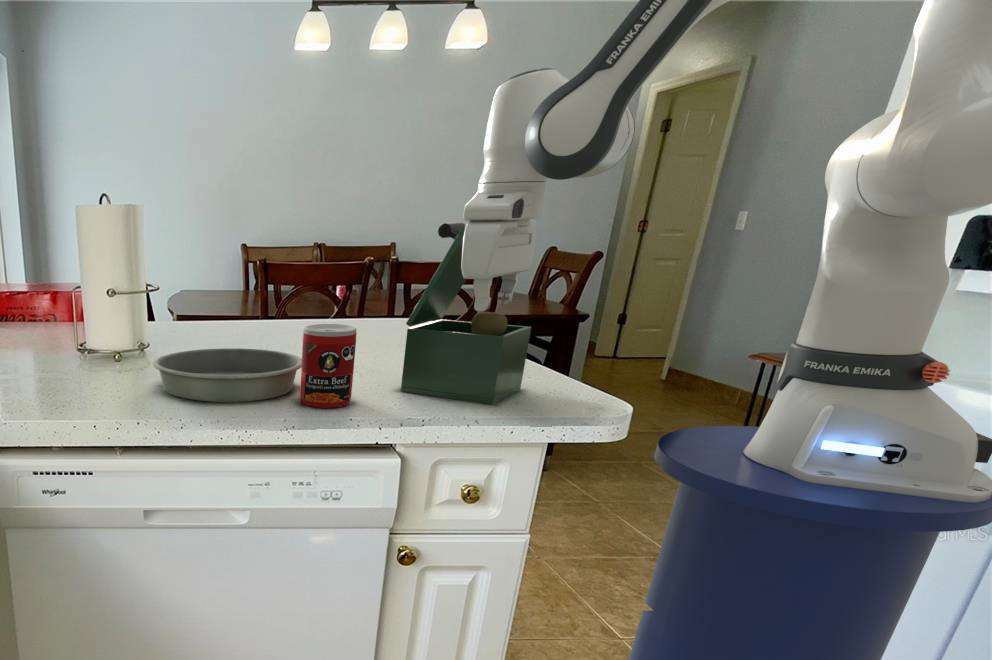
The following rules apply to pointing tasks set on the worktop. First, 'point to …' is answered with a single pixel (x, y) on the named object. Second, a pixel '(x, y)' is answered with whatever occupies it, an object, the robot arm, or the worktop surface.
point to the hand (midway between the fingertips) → (492, 307)
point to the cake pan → (228, 374)
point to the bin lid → (442, 279)
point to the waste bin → (464, 361)
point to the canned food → (327, 365)
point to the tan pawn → (489, 323)
